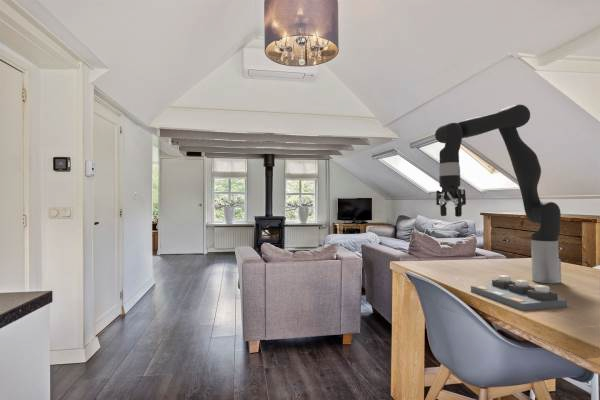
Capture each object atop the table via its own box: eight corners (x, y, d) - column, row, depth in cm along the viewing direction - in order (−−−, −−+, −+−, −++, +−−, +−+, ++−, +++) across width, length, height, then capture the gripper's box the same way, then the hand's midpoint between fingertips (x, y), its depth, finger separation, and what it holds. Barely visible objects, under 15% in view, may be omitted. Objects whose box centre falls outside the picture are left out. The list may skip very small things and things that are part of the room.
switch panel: (508, 288, 131) (507, 278, 132) (567, 306, 108) (566, 294, 108) (470, 291, 129) (470, 280, 129) (523, 310, 105) (522, 297, 105)
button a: (505, 280, 129) (504, 274, 129) (513, 282, 125) (513, 277, 125) (495, 280, 128) (495, 275, 128) (503, 283, 124) (503, 277, 124)
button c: (542, 290, 113) (541, 284, 113) (552, 293, 109) (552, 287, 109) (531, 291, 113) (531, 285, 113) (542, 294, 109) (541, 288, 109)
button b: (522, 285, 121) (522, 279, 121) (531, 287, 117) (531, 281, 117) (512, 285, 120) (512, 280, 120) (521, 288, 117) (521, 282, 117)
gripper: (470, 173, 128) (472, 216, 128) (445, 176, 141) (447, 215, 141) (453, 173, 126) (454, 217, 126) (430, 176, 140) (431, 216, 140)
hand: (450, 216), depth 134 cm, fingers open, 8 cm apart
